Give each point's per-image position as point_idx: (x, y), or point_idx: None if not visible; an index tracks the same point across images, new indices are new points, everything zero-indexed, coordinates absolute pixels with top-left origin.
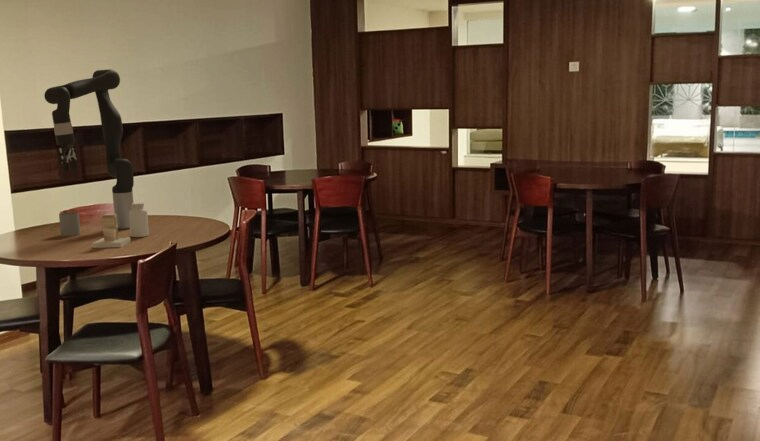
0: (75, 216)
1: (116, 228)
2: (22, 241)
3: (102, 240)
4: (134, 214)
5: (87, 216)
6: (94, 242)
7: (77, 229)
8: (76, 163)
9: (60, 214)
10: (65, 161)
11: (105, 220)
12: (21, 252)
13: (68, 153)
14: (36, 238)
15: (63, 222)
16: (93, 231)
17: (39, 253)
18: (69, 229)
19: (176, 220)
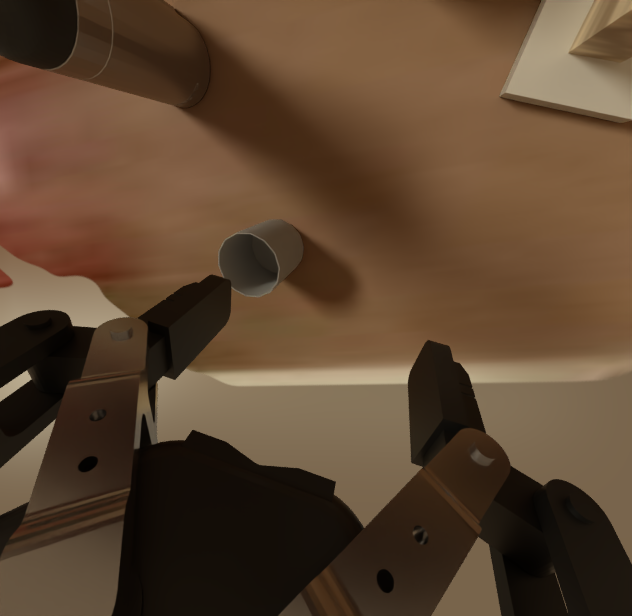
0: (269, 239)
1: None
2: (339, 355)
3: (587, 78)
4: None
5: (13, 235)
6: (621, 111)
7: (284, 227)
8: (181, 299)
9: (244, 292)
10: (579, 489)
11: None
12: (526, 351)
13: (427, 607)
14: (306, 328)
15: (286, 274)
16: (237, 182)
17: (591, 305)
18: (296, 251)
19: None
